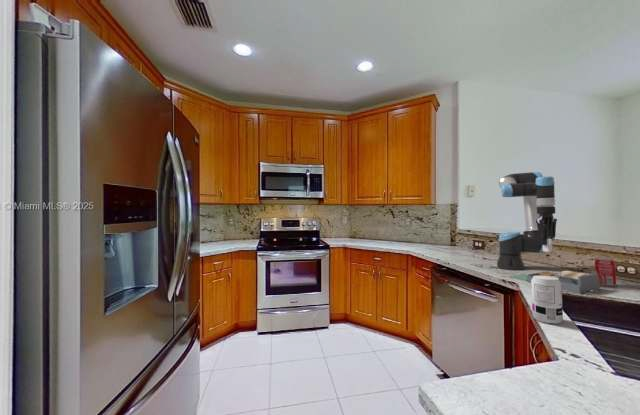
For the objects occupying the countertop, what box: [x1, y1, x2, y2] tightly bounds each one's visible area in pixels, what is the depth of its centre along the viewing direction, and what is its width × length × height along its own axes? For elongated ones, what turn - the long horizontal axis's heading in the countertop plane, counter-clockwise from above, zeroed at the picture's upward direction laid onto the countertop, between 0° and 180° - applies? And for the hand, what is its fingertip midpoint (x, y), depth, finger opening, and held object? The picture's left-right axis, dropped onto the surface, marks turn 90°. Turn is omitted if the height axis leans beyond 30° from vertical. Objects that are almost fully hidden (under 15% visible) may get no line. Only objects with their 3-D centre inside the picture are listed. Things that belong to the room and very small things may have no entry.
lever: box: [539, 271, 578, 281], centre depth 138 cm, size 18×13×2 cm
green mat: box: [508, 273, 528, 282], centre depth 156 cm, size 10×12×1 cm
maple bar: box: [561, 270, 588, 279], centre depth 134 cm, size 8×4×2 cm, turn 20°
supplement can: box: [530, 275, 564, 324], centre depth 97 cm, size 8×8×15 cm
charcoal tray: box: [526, 272, 601, 294], centre depth 139 cm, size 23×15×8 cm, turn 20°
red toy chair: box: [594, 257, 617, 288], centre depth 138 cm, size 7×7×13 cm
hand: (547, 251), depth 144 cm, fingers open, 2 cm apart
